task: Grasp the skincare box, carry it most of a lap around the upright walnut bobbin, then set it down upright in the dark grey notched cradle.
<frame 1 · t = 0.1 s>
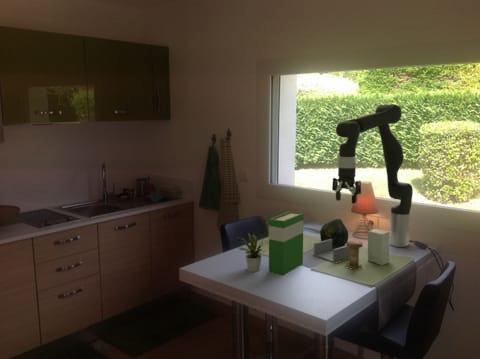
hand: (345, 201, 195), 29 cm above the table, fingers open, 8 cm apart
notch cradle: (332, 256, 209), on the table
squash: (333, 245, 227), on the table
house plant: (251, 269, 194), on the table
bobbin: (353, 266, 195), on the table
hardback book: (286, 268, 194), on the table
skincare box: (377, 262, 201), on the table
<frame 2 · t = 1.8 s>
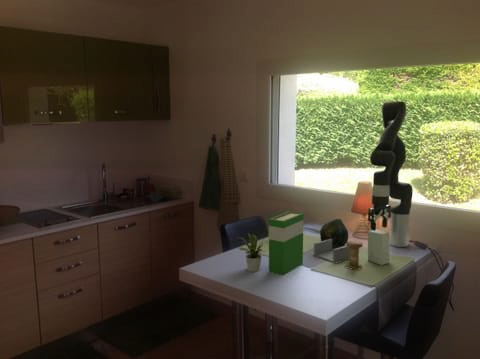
hand: (378, 228, 199), 16 cm above the table, fingers open, 8 cm apart
nothing on the table moved.
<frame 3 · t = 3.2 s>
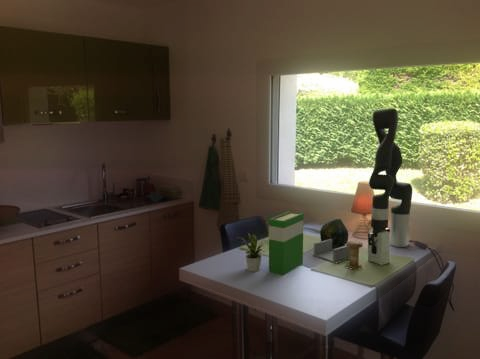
hand: (378, 252, 200), 5 cm above the table, fingers closed on skincare box, 6 cm apart
skincare box: (377, 262, 201), on the table, touching gripper
everything else where it was.
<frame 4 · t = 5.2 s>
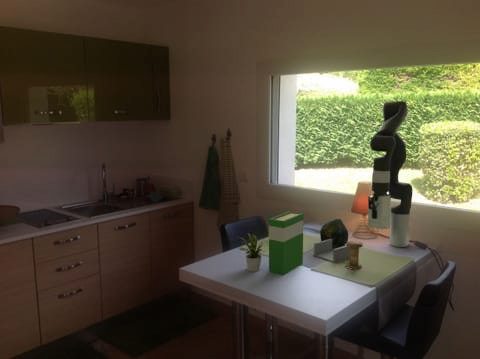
hand: (378, 217, 194), 22 cm above the table, fingers closed on skincare box, 6 cm apart
skincare box: (378, 227, 194), point 17 cm above the table, touching gripper
everything else where it was.
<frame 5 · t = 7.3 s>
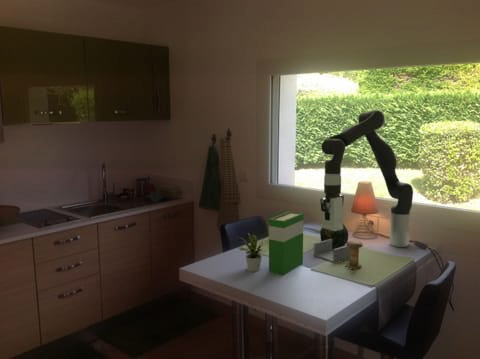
hand: (332, 218, 197), 21 cm above the table, fingers closed on skincare box, 6 cm apart
skincare box: (331, 229, 198), point 16 cm above the table, touching gripper
everything else where it was.
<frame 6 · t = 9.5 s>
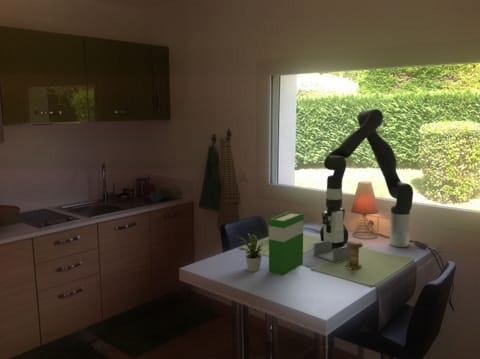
hand: (333, 231, 207), 13 cm above the table, fingers closed on skincare box, 6 cm apart
skincare box: (332, 241, 208), point 8 cm above the table, touching gripper
everything else where it was.
when the fingers open (6 cm above the table, at t = 11.2 s): skincare box drops 1 cm, resting on notch cradle.
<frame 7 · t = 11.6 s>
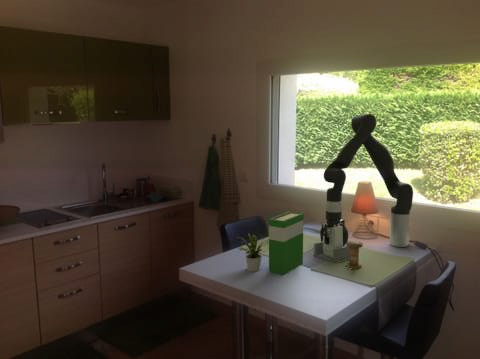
hand: (332, 242, 208), 7 cm above the table, fingers open, 8 cm apart
skincare box: (332, 255, 209), resting on notch cradle
everything else where it was.
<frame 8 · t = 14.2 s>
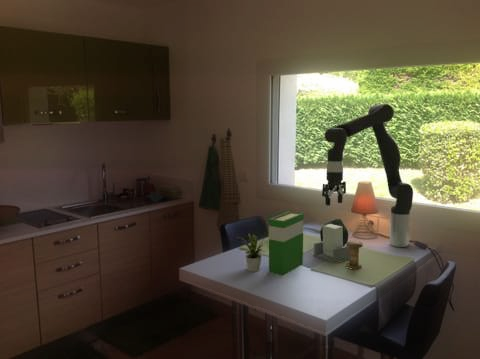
hand: (333, 204, 205), 26 cm above the table, fingers open, 8 cm apart
nothing on the table moved.
at the end: skincare box 0.1 cm from the notch cradle (horizontally); skincare box tilted 0°; the gripper is holding nothing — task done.
